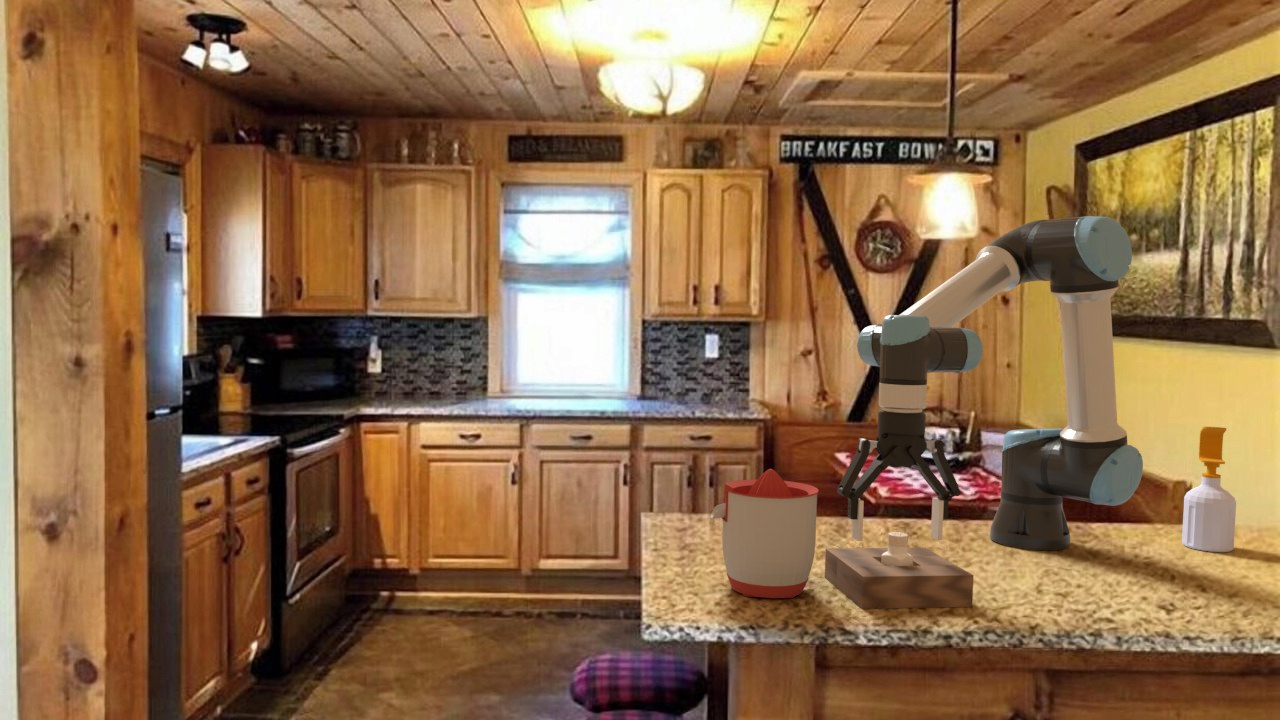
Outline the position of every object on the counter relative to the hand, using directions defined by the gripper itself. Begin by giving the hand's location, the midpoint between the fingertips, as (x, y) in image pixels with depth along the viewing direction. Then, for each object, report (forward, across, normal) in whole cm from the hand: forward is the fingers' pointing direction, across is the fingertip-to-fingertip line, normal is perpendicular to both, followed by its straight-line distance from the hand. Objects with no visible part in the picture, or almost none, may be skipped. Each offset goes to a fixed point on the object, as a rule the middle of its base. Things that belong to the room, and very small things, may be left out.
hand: (897, 538), depth 164 cm
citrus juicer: (+9, +22, -2) cm, 24 cm away
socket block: (+9, 0, 0) cm, 9 cm away
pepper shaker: (+9, 0, 0) cm, 9 cm away
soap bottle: (+9, -77, -27) cm, 82 cm away
